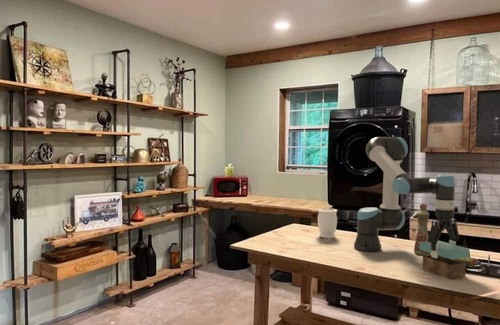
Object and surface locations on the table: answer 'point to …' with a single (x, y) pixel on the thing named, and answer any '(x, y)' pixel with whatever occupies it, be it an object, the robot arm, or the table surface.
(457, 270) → the crate
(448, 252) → the lid
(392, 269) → the table surface
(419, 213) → the bottle
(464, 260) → the carton
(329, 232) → the jar
